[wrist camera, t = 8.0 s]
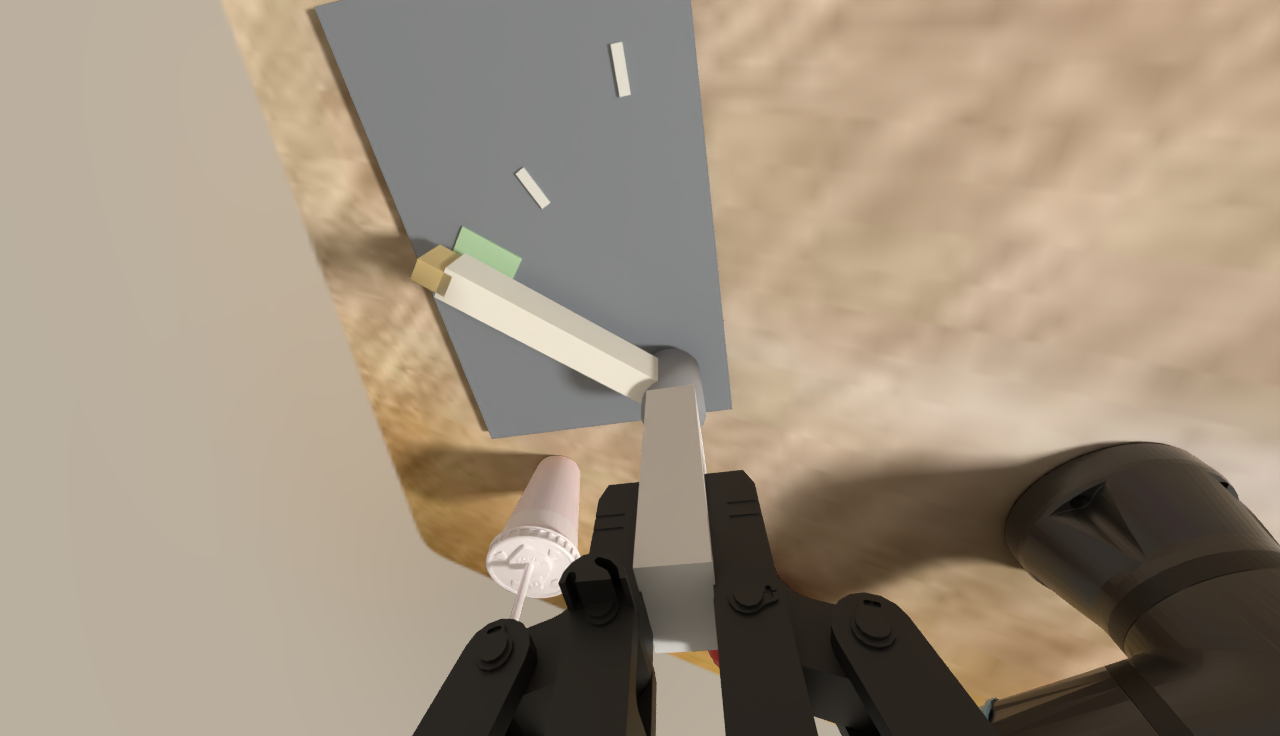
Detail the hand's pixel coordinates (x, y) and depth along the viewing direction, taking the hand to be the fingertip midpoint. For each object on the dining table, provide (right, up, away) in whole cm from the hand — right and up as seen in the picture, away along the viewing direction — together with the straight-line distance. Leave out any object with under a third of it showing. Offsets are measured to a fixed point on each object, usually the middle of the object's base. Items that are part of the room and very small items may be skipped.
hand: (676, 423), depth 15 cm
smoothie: (-8, -7, +25) cm, 27 cm away
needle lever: (-5, +5, +17) cm, 18 cm away
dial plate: (-6, +10, +15) cm, 19 cm away
